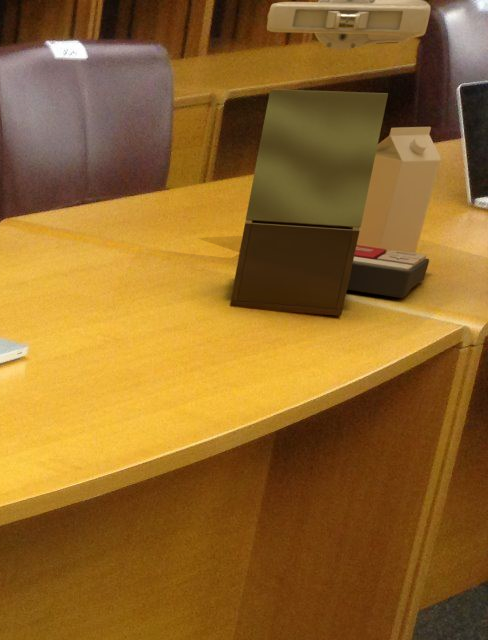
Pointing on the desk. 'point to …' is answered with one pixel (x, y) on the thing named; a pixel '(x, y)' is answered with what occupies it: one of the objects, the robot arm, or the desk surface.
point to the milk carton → (399, 190)
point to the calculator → (386, 271)
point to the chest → (294, 267)
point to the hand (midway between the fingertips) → (347, 21)
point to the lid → (316, 157)
